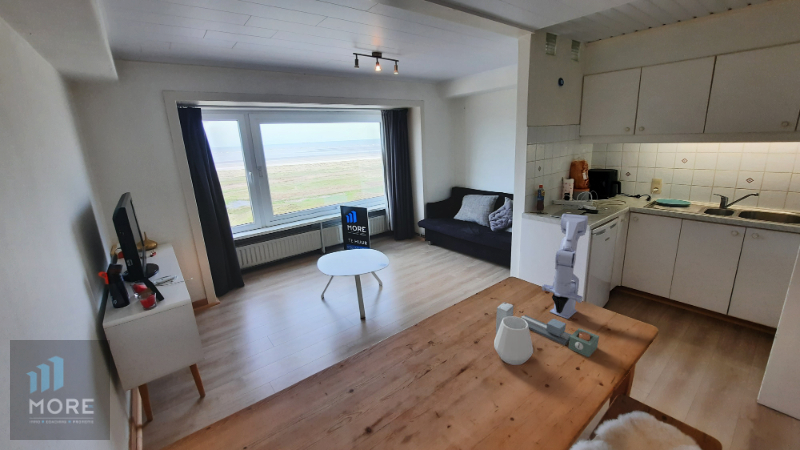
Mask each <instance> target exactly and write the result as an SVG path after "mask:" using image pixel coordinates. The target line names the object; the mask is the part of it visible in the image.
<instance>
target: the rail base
mask: <svg viewBox="0 0 800 450" xmlns="http://www.w3.org/2000/svg"><path fill="white" fill-rule="evenodd" d="M520 318H522V319H524V320H525V321H526V322H527V323H528V327H529V331H530V332H531V331H532V332H534V333H536V334H539V335H541V336H543V337H544V338H546V339H549V340H551V341H553V342H556V343H557V344H560V345H563V346H564V347H565V346H566V345H567V344H569V340H570V336H571V335H572V334H571V333H569V332H566V331H564V333H562V334H561V336H560V337H558V336H556V335H554V334H552V333H549V332H547V330H546V329H547V323H545V322H542V321H540V320H538V319H536V318H533V317H531V316H529V315H521V316H520Z"/></svg>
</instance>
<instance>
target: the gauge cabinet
mask: <svg viewBox="0 0 800 450" xmlns="http://www.w3.org/2000/svg"><path fill="white" fill-rule="evenodd" d="M580 332H586V333H588V334H590V341H589V342H588V341H586V340H583V339H581V338H579V333H580ZM599 339H600V335H597V334H594V333H593V332H590V331H587V330H585V329H582V328H580V327H579V328H577V329H576V331H574V332H573V333H572V334H571V336H570V340H569V342H568V349H569V350H571V351H573V352H576V353H578V354H580V355H582V356H583V357H586V358H590V357H591V356H592V354H594V352H595V351H596V350H597V349H598V348H599V347H598V345H599Z"/></svg>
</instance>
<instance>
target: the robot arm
mask: <svg viewBox="0 0 800 450" xmlns="http://www.w3.org/2000/svg"><path fill="white" fill-rule="evenodd" d="M588 221H589V216H588V215H583V214H581V215H580V214H572V213H563V214H562V215H561V219H560V230H561V233H563V234H564V235H565V236H564V237H563V238H562V239H561V240H560V244H559V248H558V250H556V253H555V259H554V260H555V261H554V263H555V268H554V269H555V274H554V277H553V278H554V279H553V281H552V285H549V284H543V285H542V286H541V290H542V291H545V292H546V291H547V292H549V293H552V294H553V295H551V299H552V301H553V303H554V305H553V308H551V309H550V310H549V312H550V313H551V314H555V315H556V316H559V317H562V318H564V319H567V320H568V319H570V318H571V317H572V316H574V314H575V313H577V312H578V310H577V309H576V302H577V303H578V304H581V303H582V302H583V296H582V295H580V294H578V293H579V289H580V288H579V287H580V278H578V276H576V274H575V273H574V269H575V265H576V260H577V247H578V241H579V239H580V237H582V236H585V235H586V233H587V228H588V223H589V222H588Z"/></svg>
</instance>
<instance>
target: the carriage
mask: <svg viewBox="0 0 800 450" xmlns="http://www.w3.org/2000/svg"><path fill="white" fill-rule="evenodd" d="M546 324H547V329H546V330H547V332H549V333H552V334H554V335H556V336H558V337H560V336H561V334H562V333H564V332H566V325H567V323H566V322H563V321H561V320H558V319H555V318H552V319H550V321H549V320H548V322H547V323H546Z"/></svg>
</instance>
